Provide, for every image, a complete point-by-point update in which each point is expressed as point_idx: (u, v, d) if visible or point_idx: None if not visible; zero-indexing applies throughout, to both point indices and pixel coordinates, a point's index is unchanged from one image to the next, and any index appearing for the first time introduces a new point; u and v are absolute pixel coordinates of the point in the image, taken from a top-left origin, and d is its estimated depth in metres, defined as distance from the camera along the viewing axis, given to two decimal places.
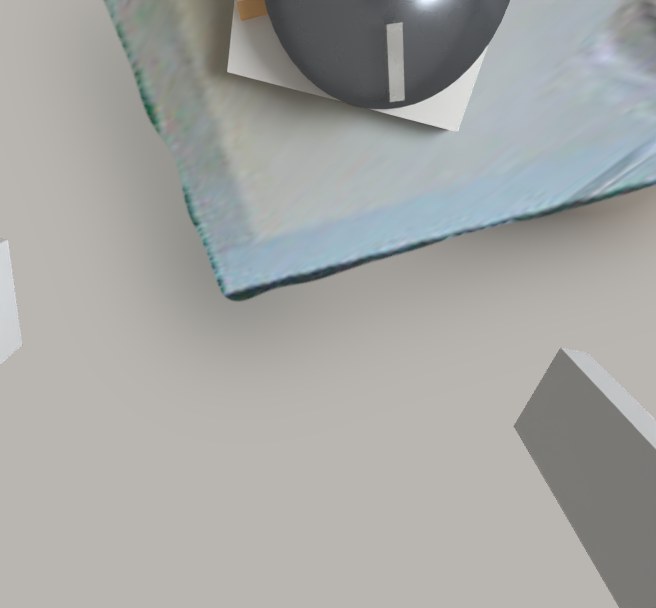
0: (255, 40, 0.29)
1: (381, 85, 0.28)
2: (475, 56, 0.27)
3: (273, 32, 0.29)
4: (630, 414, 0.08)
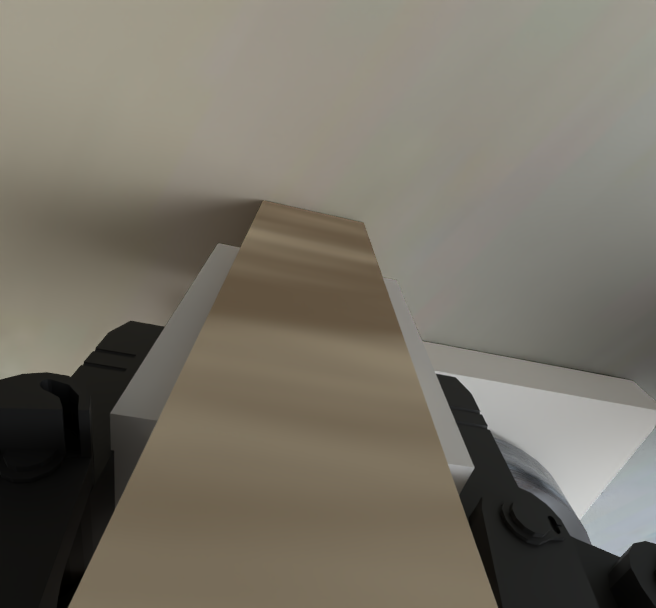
0: None
1: None
2: None
3: None
4: None
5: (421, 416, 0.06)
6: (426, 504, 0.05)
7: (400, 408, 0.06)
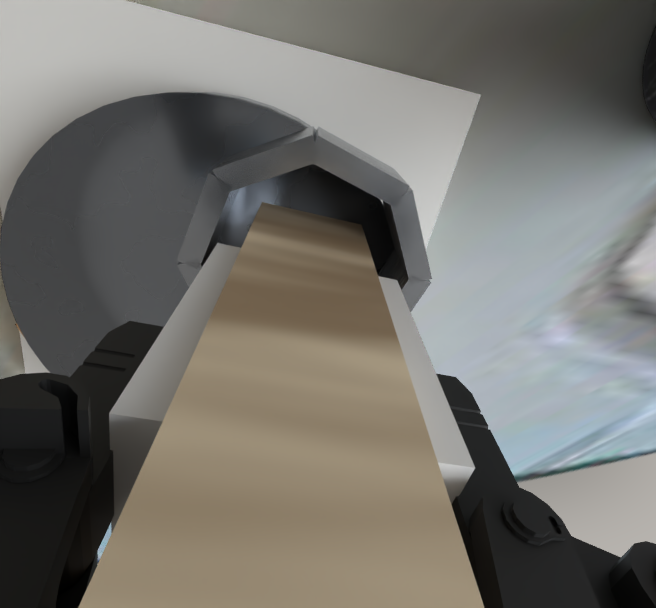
0: None
1: None
2: None
3: None
4: (391, 316, 0.10)
5: (414, 421, 0.06)
6: (419, 506, 0.05)
7: (394, 412, 0.06)
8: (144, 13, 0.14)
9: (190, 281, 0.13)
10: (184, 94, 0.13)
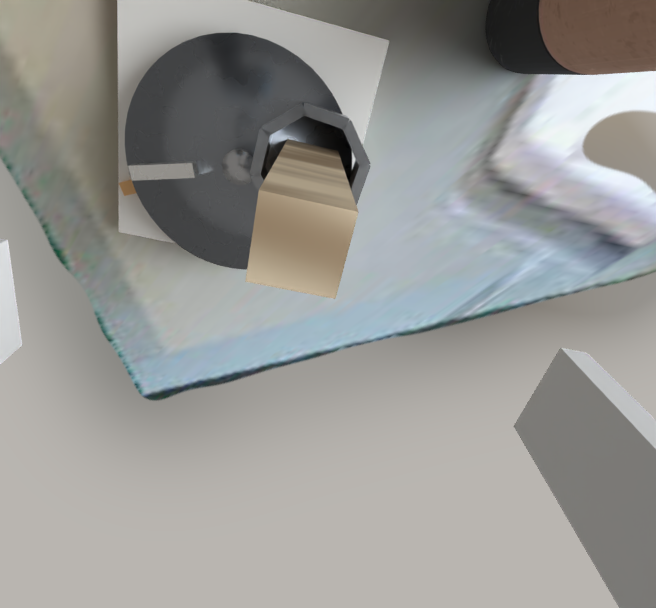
0: (140, 208, 0.33)
1: (147, 157, 0.29)
2: (179, 242, 0.32)
3: None
4: (630, 414, 0.08)
5: (343, 177, 0.20)
6: (340, 181, 0.19)
7: (337, 175, 0.20)
8: None
9: (259, 139, 0.26)
10: (304, 62, 0.26)
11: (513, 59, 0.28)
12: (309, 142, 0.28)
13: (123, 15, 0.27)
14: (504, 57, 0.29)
